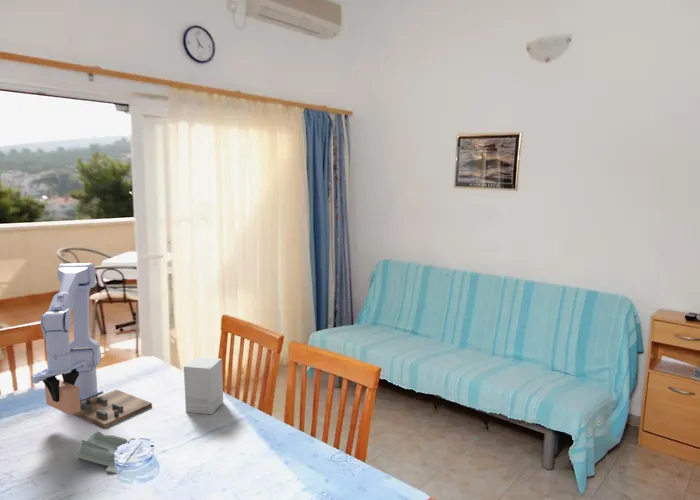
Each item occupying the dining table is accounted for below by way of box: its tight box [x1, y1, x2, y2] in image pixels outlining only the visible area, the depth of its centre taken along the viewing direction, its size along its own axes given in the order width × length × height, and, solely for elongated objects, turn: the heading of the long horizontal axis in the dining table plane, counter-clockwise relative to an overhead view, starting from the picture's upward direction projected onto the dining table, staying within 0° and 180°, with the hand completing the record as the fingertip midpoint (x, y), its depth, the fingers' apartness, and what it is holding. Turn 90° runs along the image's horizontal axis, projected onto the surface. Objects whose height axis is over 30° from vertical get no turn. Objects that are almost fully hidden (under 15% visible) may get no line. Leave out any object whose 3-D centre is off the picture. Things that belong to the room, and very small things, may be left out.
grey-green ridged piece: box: [72, 431, 136, 475], centre depth 134 cm, size 14×6×15 cm
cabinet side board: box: [73, 389, 153, 429], centre depth 159 cm, size 18×16×3 cm
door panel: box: [44, 378, 81, 416], centre depth 145 cm, size 12×3×7 cm, turn 58°
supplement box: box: [183, 356, 224, 415], centre depth 161 cm, size 9×9×15 cm
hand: (62, 398), depth 146 cm, fingers closed on door panel, 3 cm apart
